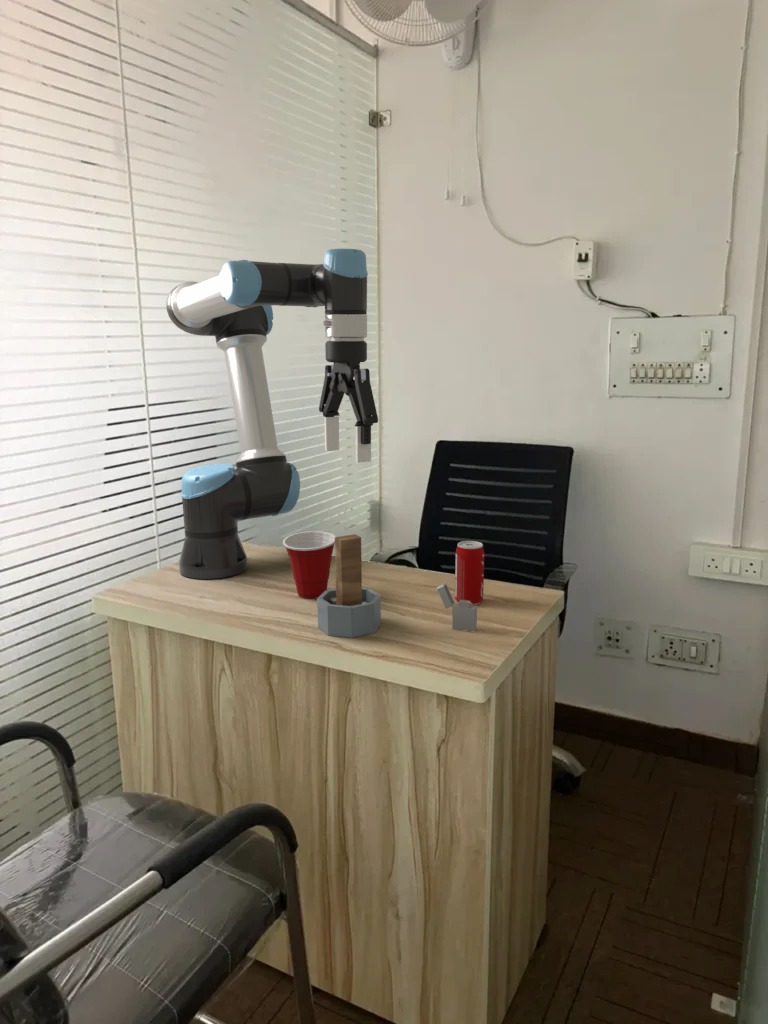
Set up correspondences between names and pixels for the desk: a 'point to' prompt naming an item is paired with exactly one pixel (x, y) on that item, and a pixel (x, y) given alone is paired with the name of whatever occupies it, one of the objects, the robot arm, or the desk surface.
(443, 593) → the lighter
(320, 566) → the plastic cup
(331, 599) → the clip
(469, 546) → the soda can
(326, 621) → the grey faceted bowl
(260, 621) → the desk surface
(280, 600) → the desk surface
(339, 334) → the robot arm
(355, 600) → the brown wooden block
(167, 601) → the desk surface
